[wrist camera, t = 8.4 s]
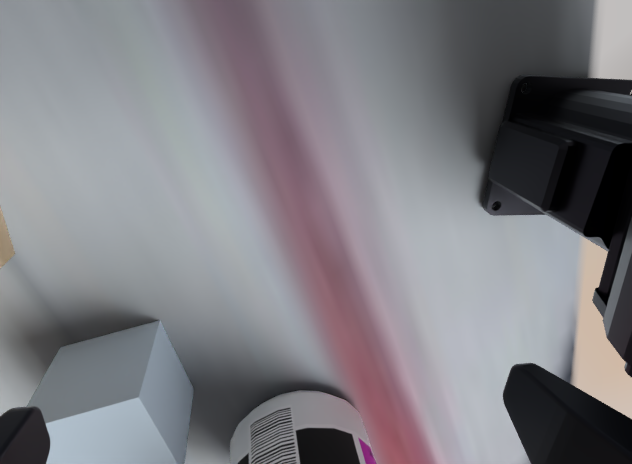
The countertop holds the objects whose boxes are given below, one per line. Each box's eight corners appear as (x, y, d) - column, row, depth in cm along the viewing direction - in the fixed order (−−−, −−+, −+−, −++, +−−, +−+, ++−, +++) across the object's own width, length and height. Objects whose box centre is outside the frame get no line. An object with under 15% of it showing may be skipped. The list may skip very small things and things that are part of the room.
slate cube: (160, 319, 21) (138, 397, 16) (194, 388, 23) (183, 473, 19) (61, 346, 21) (11, 433, 16) (104, 413, 23) (72, 505, 18)
